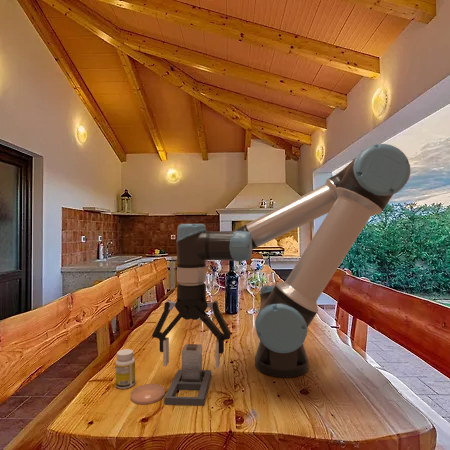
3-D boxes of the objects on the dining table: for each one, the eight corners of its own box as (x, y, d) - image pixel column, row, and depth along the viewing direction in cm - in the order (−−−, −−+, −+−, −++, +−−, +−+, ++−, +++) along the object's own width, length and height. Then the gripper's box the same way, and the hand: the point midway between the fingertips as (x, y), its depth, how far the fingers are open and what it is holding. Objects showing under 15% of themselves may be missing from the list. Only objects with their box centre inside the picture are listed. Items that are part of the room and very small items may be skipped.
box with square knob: (202, 378, 84) (201, 342, 84) (199, 386, 80) (199, 349, 80) (185, 378, 84) (185, 342, 85) (181, 386, 80) (181, 349, 80)
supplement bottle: (128, 378, 84) (128, 346, 85) (138, 383, 81) (138, 351, 82) (111, 385, 81) (111, 352, 81) (122, 391, 78) (122, 357, 78)
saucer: (168, 387, 79) (168, 384, 79) (159, 404, 71) (159, 401, 71) (137, 386, 80) (137, 383, 80) (125, 403, 72) (125, 400, 72)
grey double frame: (211, 375, 85) (211, 370, 85) (203, 405, 71) (203, 399, 71) (178, 375, 86) (178, 369, 86) (164, 404, 72) (164, 397, 72)
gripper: (239, 280, 85) (240, 360, 85) (149, 280, 87) (149, 357, 87) (238, 285, 78) (239, 372, 77) (139, 285, 80) (139, 369, 79)
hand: (191, 365), depth 82 cm, fingers open, 13 cm apart
